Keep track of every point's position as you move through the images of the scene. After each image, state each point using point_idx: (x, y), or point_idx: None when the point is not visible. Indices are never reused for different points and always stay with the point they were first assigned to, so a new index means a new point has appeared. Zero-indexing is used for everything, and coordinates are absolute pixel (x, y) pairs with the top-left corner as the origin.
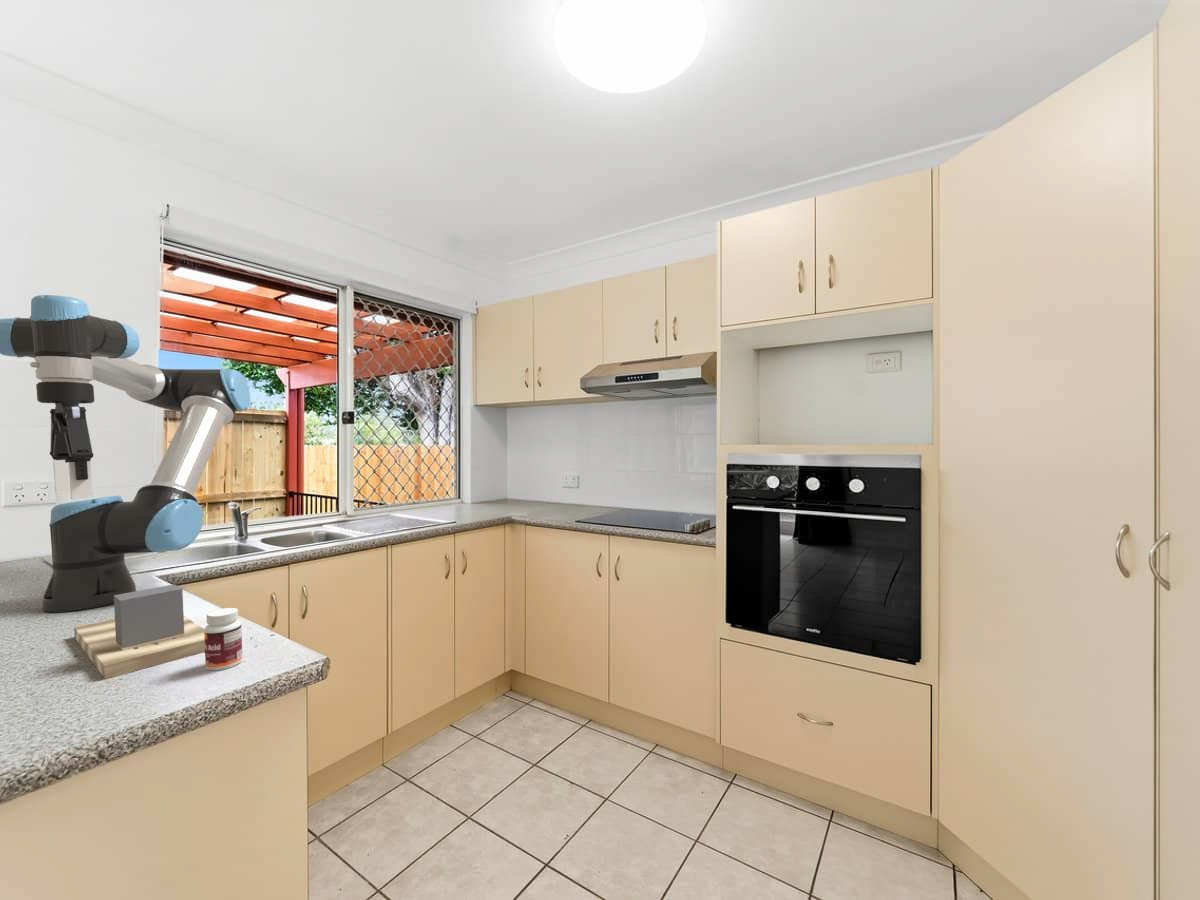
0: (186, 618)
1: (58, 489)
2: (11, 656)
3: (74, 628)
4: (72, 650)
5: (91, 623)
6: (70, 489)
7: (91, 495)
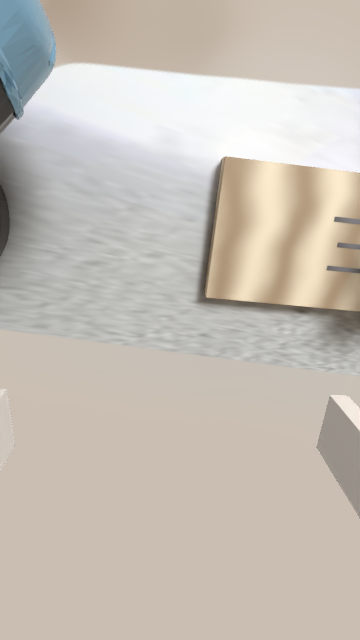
0: (344, 173)
1: (4, 453)
2: (218, 356)
3: (209, 297)
4: (269, 308)
5: (209, 276)
6: (2, 415)
7: (350, 403)
